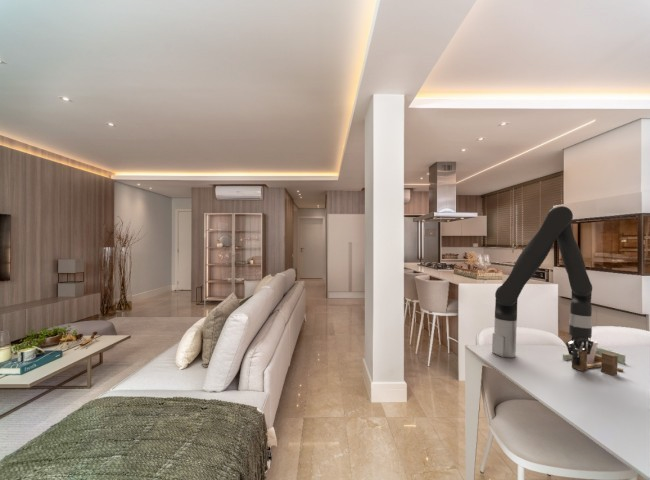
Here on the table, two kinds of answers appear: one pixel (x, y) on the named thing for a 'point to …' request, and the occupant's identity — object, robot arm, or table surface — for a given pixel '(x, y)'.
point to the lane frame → (599, 352)
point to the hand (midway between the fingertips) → (579, 364)
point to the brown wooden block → (610, 364)
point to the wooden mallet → (583, 361)
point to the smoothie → (592, 352)
